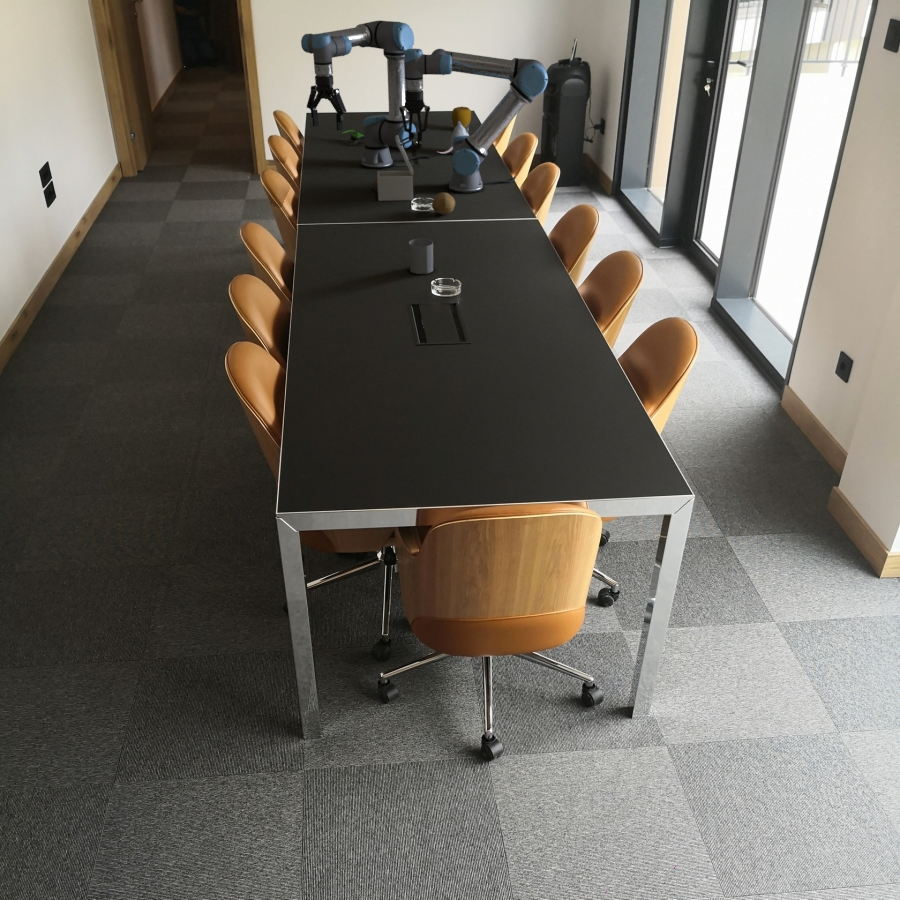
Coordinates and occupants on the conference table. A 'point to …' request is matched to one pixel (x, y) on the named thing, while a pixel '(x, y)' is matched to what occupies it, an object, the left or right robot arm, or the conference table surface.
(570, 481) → the conference table surface
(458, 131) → the toy
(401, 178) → the chest
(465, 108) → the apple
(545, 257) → the conference table surface
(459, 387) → the conference table surface
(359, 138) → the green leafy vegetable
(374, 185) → the block
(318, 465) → the conference table surface
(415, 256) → the cup
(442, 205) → the potato
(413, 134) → the lid
